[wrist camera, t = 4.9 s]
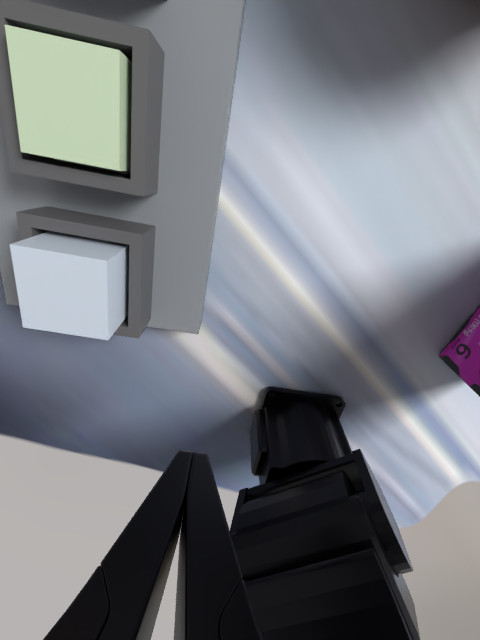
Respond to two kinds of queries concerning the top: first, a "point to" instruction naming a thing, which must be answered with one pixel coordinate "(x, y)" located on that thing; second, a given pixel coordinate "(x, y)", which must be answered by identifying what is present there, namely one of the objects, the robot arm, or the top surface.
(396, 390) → the top surface
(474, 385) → the candy bar box
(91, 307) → the slate button
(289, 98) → the top surface
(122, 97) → the sage button
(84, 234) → the button panel
